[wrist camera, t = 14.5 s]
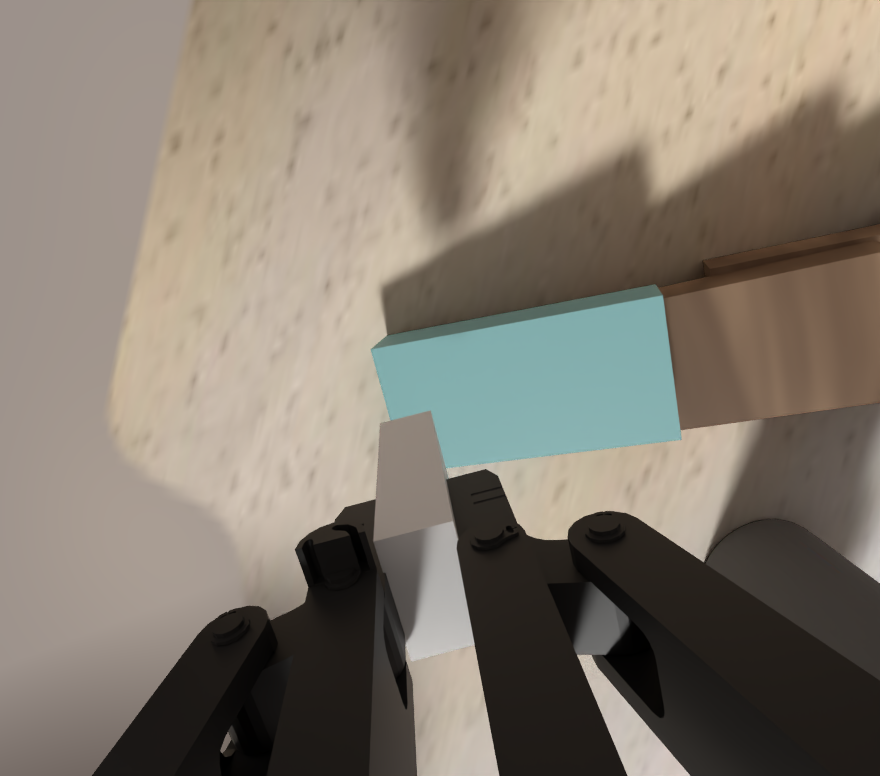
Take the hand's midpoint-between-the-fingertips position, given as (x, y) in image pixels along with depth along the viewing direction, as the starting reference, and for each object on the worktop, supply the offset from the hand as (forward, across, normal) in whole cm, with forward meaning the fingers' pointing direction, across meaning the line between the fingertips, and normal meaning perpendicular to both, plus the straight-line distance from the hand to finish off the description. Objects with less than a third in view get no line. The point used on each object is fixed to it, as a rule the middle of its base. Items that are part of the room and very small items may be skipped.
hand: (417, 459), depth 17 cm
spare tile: (+6, -1, 0) cm, 6 cm away
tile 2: (+6, +7, -1) cm, 9 cm away
